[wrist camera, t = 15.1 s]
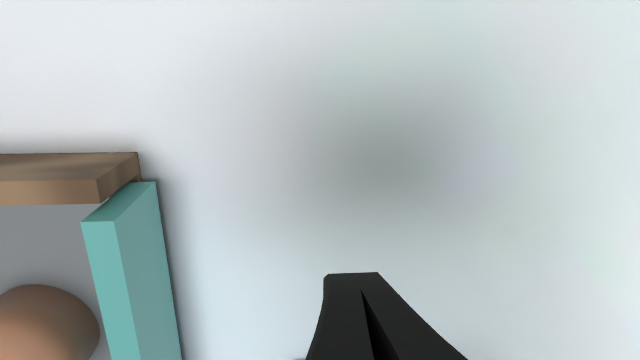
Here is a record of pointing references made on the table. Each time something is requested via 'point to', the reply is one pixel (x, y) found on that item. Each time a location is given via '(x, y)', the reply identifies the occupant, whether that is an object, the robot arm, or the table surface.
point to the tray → (100, 266)
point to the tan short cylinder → (46, 325)
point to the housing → (64, 177)
